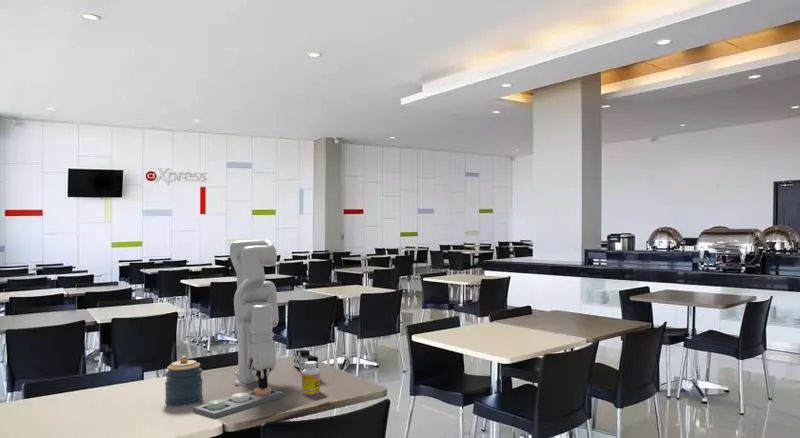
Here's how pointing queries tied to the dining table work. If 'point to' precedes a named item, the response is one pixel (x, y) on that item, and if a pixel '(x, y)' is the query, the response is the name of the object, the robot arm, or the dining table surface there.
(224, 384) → the dining table surface
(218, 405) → the button sage
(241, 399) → the button cream
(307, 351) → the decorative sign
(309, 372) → the supplement bottle
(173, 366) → the canister
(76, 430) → the dining table surface
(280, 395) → the button panel
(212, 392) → the dining table surface
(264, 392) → the button terracotta
